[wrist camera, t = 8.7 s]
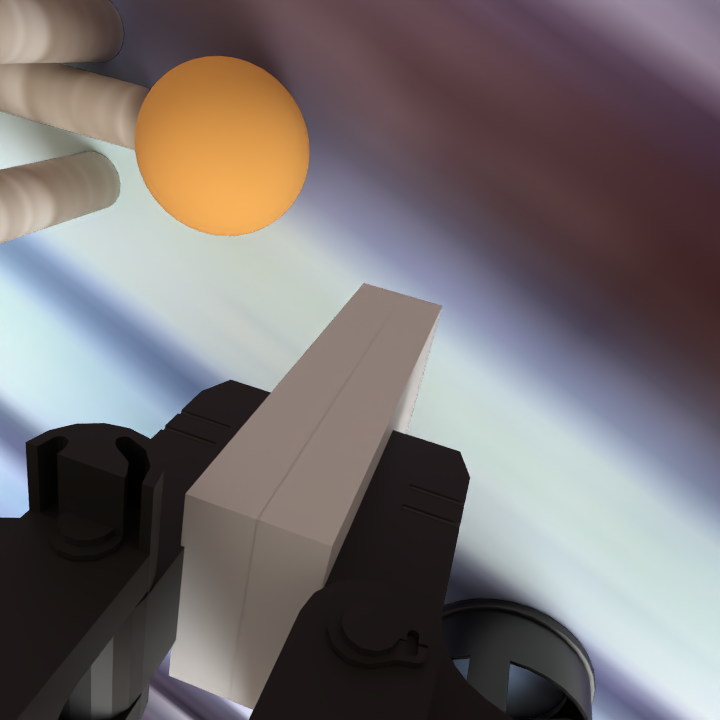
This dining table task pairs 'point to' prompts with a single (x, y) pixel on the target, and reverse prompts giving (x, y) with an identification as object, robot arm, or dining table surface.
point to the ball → (222, 145)
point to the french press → (518, 652)
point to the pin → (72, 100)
